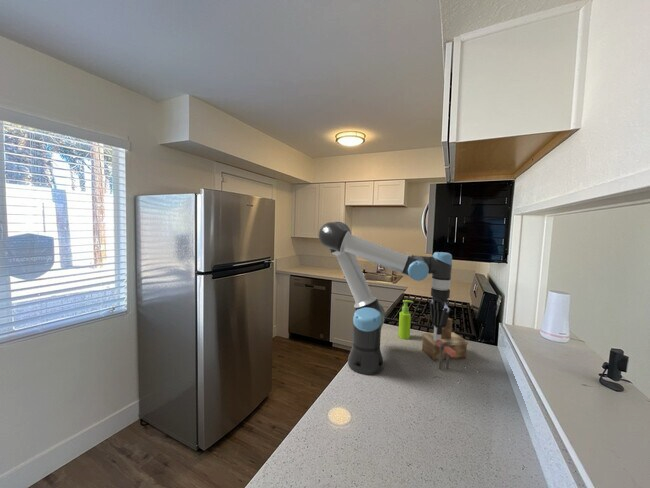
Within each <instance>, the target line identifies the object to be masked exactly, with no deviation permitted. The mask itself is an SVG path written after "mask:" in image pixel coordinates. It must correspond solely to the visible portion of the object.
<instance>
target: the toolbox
mask: <svg viewBox="0 0 650 488" xmlns="http://www.w3.org/2000/svg"><path fill="white" fill-rule="evenodd" d="M443 345H448V346H449V347H450V348H452V349H453V350H454V351H456V356H455V357H451V356H450V355H449V354H447V353H446V352H445V351H444V350H443ZM467 347H468V344H463V345H450V343H449V342H442V343H440V347H439V346H433V345H432V344H431V343H430V342H429V341H427V340H426V339H425V338H424V337H423V336H422V345H421V348H422V349H421V351H422V352H424V354H426V355H427V357H429V358H430V359H431V360H432V361H433V362H436V361H437V362H438V367H437V368H438V369H439V371H441V370H442V369H443V368H442V366H443V361H445V369H446V370H449V368H450V361H451V360H453V361H454V360H465V359H466V358H467Z"/></svg>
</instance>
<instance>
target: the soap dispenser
mask: <svg viewBox="0 0 650 488" xmlns="http://www.w3.org/2000/svg"><path fill="white" fill-rule="evenodd" d="M402 303H403V305H402V307H401V311H399V316H398V317H399V318H398V332H397V333H398V334H397V336H398V338H399V339H401V340H409V339H410V337H411V321H412V320H411V317H412V313H411V312H409V311H410V310H409V309H410V307H409V306H408V303H411V304H414V303H415V302H414V301H413V300H410V299H403V300H402Z"/></svg>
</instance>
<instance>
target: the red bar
mask: <svg viewBox="0 0 650 488" xmlns="http://www.w3.org/2000/svg"><path fill="white" fill-rule="evenodd" d="M440 343H442V341H441V340H436V345H438V346H439V347H440ZM443 350H444V351H445V352H446V353H447V354H449V355H450V356H451V357H455V356H456V351H454V350H453V349H452V348H450V347H449V346H448V345H443Z"/></svg>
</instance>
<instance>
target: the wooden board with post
mask: <svg viewBox="0 0 650 488" xmlns="http://www.w3.org/2000/svg"><path fill="white" fill-rule="evenodd" d="M421 336H422V338H423V337H424V338H425V339H426V340H427V341H429V342H430V343H431V344H432V345H433V346H438V345H436V341H434V340H433V336H434V332H429V333H422V334H421ZM441 341H442V342H449V343H450V345H463V344H467V345H469V341H468V340H466V339H465V338H463V337H462V336H461V335H459V334H458V333H455V332H454V331H453V319H452V318H450V317H448V320H447V324H446V327H444V328H442V334H441Z"/></svg>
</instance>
